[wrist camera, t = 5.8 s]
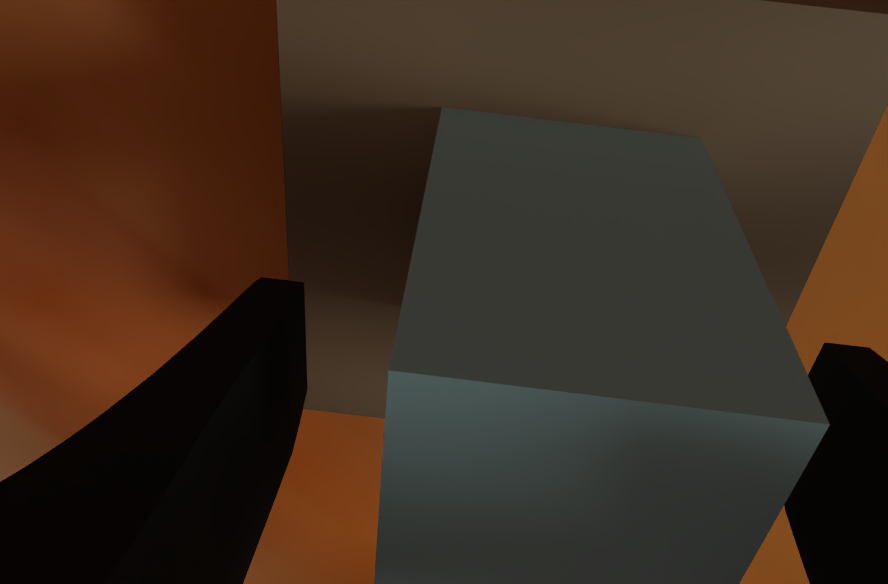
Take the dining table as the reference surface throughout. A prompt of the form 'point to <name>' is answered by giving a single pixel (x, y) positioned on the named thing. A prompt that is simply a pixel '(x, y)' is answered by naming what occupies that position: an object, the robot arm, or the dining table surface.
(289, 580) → the dining table surface
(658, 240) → the block
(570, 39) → the base
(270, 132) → the dining table surface
